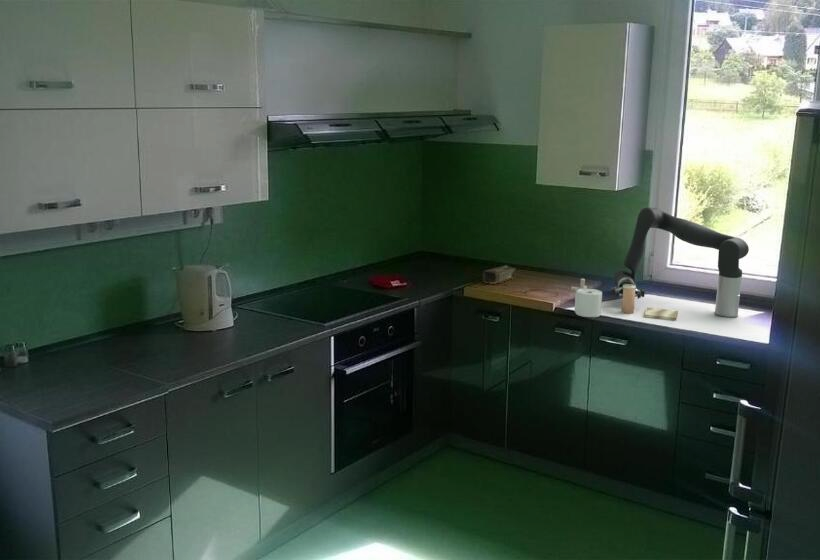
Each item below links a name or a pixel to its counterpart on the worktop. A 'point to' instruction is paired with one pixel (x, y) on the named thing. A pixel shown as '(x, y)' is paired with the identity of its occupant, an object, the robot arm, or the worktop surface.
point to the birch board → (661, 313)
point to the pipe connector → (580, 286)
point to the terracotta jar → (628, 298)
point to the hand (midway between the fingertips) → (628, 295)
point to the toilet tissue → (588, 302)
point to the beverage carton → (498, 274)
